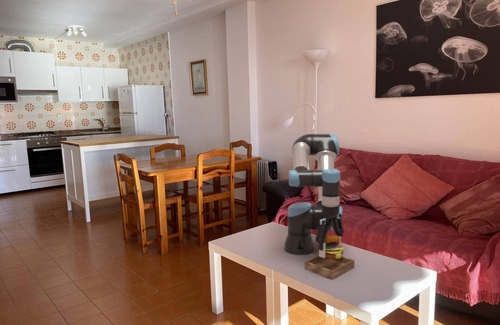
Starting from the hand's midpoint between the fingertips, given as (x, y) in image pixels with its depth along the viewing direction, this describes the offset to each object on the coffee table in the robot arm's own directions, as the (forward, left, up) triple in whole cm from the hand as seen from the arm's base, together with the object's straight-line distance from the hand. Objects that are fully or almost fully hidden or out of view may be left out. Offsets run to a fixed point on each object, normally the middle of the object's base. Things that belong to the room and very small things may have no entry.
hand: (329, 253), depth 168 cm
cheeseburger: (+1, 0, -1) cm, 1 cm away
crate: (0, 0, -7) cm, 7 cm away
